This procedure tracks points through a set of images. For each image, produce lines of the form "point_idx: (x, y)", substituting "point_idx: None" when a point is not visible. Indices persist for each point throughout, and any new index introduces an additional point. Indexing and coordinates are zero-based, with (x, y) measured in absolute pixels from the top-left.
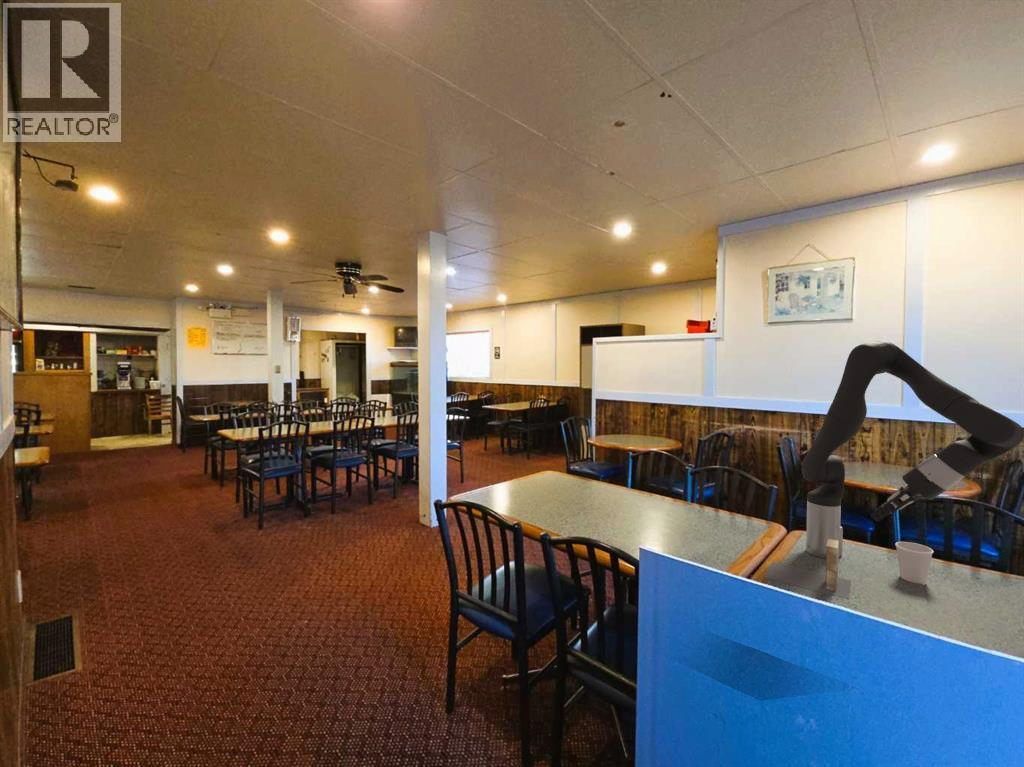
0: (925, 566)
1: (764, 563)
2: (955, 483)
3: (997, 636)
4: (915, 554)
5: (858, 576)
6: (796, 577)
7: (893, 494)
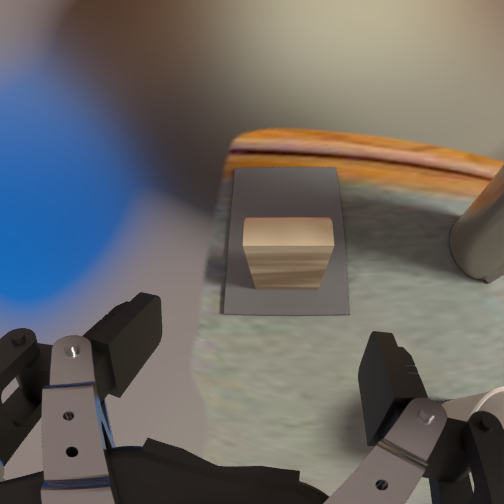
0: None
1: (322, 159)
2: None
3: None
4: None
5: (399, 326)
6: (278, 214)
7: (95, 453)
